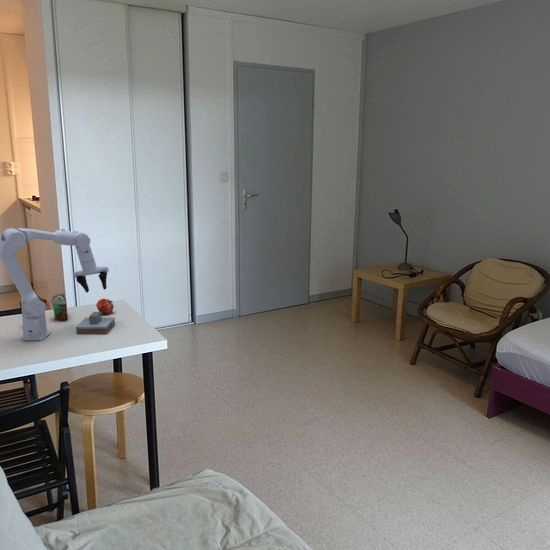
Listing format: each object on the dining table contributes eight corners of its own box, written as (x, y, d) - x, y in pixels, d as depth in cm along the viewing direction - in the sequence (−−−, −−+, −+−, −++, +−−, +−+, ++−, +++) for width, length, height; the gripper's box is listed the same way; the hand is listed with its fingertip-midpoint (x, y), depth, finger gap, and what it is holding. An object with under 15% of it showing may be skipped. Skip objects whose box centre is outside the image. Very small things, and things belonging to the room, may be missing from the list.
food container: (51, 315, 239) (49, 294, 237) (66, 313, 242) (64, 292, 240) (52, 323, 228) (50, 301, 226) (68, 321, 231) (66, 299, 229)
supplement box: (36, 327, 224) (34, 301, 221) (22, 327, 224) (19, 301, 221) (42, 322, 229) (39, 297, 227) (28, 322, 229) (26, 297, 227)
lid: (106, 329, 214) (105, 318, 213) (75, 329, 214) (74, 318, 213) (115, 320, 226) (114, 309, 225) (86, 320, 226) (85, 309, 225)
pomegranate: (95, 320, 240) (109, 309, 236) (88, 306, 241) (101, 295, 237) (107, 317, 246) (120, 306, 242) (99, 304, 247) (113, 293, 243)
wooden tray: (106, 334, 215) (105, 328, 214) (76, 334, 215) (76, 328, 214) (114, 324, 227) (114, 319, 226) (86, 324, 227) (86, 319, 226)
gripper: (106, 254, 224) (115, 283, 228) (73, 260, 224) (82, 289, 229) (102, 259, 217) (111, 290, 222) (67, 265, 217) (77, 295, 222)
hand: (96, 290), depth 225 cm, fingers open, 7 cm apart
